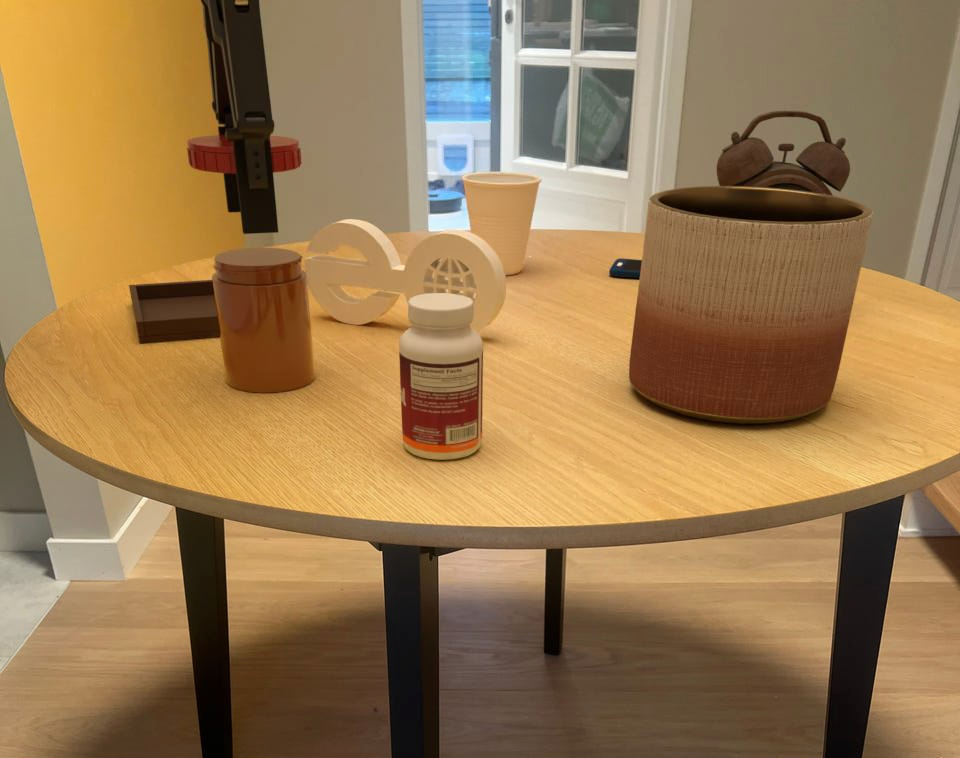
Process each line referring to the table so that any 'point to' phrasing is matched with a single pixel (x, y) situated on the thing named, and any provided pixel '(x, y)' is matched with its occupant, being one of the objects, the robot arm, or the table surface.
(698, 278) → the planter
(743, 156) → the alarm clock
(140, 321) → the tray
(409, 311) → the pill bottle
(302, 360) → the jar
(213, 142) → the jar lid
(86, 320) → the table surface
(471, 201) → the cup
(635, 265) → the cell phone
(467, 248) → the cream logo sign
